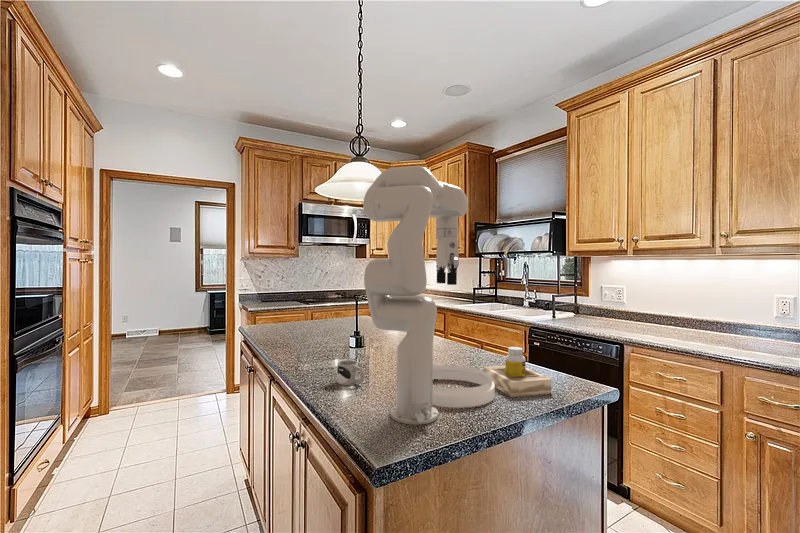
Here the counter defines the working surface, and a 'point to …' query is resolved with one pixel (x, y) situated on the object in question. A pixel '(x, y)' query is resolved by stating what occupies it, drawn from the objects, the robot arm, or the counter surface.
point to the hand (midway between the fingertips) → (446, 283)
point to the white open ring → (462, 395)
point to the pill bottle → (515, 362)
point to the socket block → (519, 382)
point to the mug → (349, 373)
